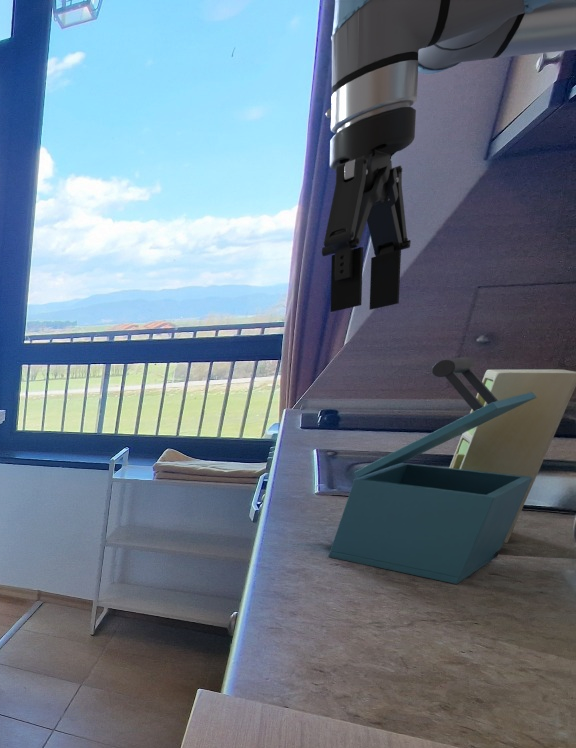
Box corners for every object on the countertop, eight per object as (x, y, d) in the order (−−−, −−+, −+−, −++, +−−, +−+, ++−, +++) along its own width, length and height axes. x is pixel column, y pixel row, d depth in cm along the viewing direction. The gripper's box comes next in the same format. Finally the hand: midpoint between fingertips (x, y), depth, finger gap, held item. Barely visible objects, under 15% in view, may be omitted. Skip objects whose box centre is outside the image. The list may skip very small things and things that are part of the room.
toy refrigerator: (417, 526, 88) (479, 368, 80) (493, 534, 84) (566, 368, 76) (423, 540, 83) (490, 372, 74) (504, 550, 78) (584, 372, 70)
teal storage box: (497, 556, 76) (533, 477, 72) (456, 584, 69) (494, 497, 65) (375, 534, 85) (401, 462, 82) (327, 556, 78) (354, 478, 74)
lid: (536, 397, 71) (491, 345, 73) (497, 408, 63) (448, 350, 65) (404, 461, 81) (367, 414, 83) (357, 477, 74) (318, 425, 76)
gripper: (367, 148, 85) (362, 313, 89) (290, 125, 72) (288, 318, 77) (446, 117, 78) (436, 297, 83) (377, 86, 66) (370, 299, 70)
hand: (365, 307), depth 80 cm, fingers open, 13 cm apart
